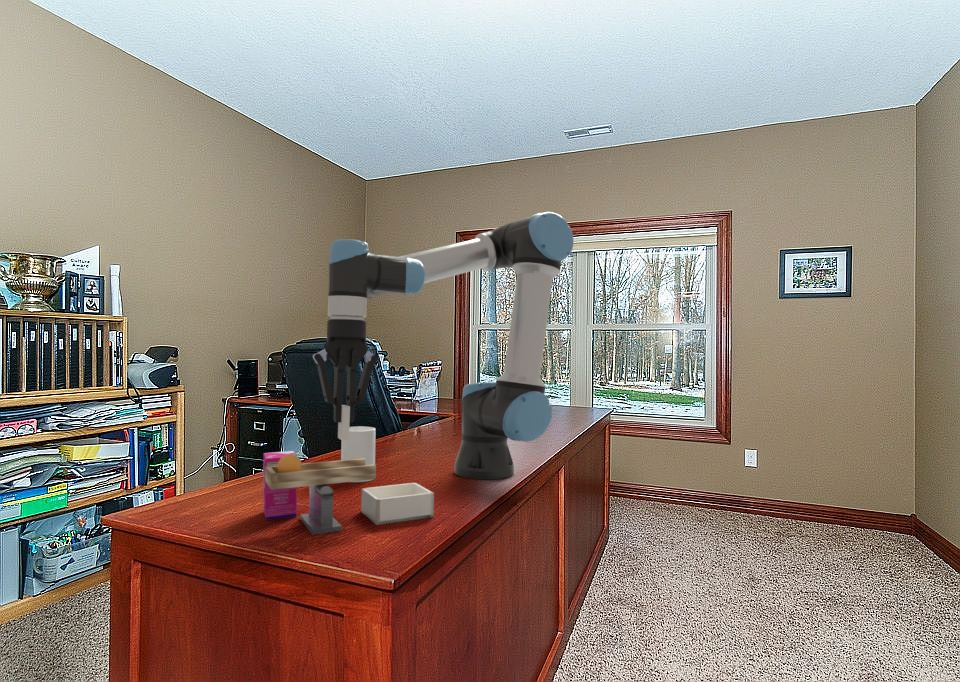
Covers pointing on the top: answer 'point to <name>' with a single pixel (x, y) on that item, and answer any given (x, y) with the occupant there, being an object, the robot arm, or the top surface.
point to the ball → (289, 464)
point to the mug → (359, 445)
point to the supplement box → (278, 492)
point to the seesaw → (321, 474)
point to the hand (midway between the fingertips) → (343, 438)
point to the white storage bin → (397, 503)
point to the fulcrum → (320, 511)
